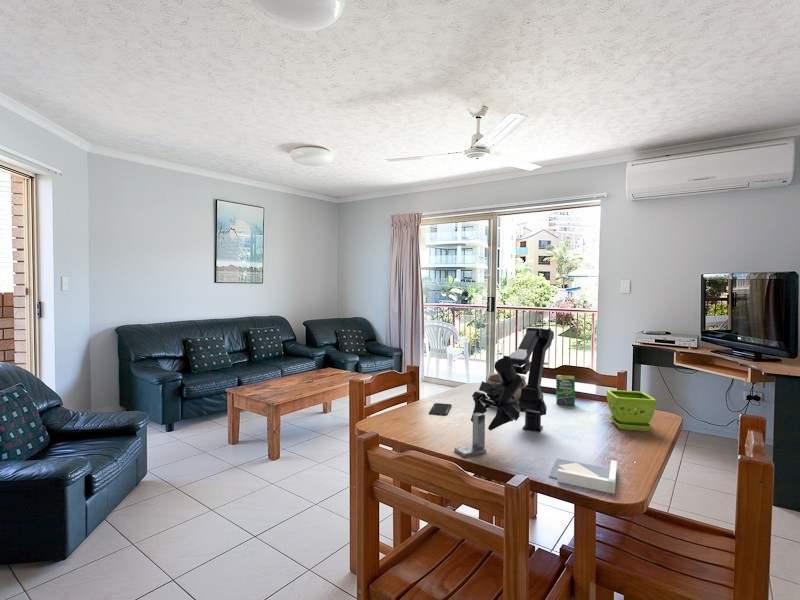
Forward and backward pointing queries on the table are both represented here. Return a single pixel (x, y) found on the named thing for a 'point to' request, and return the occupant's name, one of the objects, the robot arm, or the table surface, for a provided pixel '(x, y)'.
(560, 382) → the coffee box
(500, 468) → the table surface
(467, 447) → the bracket
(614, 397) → the flower pot
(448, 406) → the phone
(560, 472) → the walls
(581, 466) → the mat
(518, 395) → the cooking pot
